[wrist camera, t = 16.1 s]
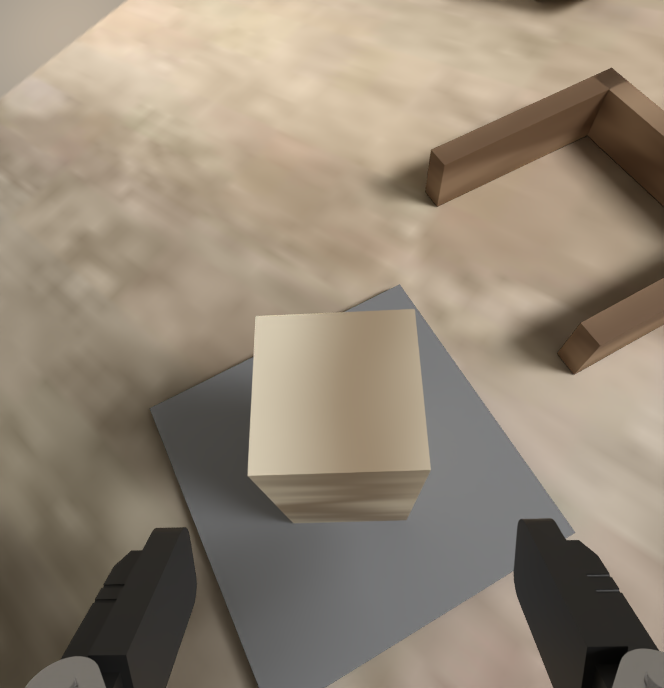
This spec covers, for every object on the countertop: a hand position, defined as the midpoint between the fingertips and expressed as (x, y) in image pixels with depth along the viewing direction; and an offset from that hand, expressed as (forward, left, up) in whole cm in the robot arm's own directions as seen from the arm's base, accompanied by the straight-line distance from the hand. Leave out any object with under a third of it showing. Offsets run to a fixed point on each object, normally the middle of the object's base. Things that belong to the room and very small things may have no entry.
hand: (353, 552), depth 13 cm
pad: (-4, +2, -9) cm, 10 cm away
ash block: (-4, +2, -8) cm, 9 cm away
